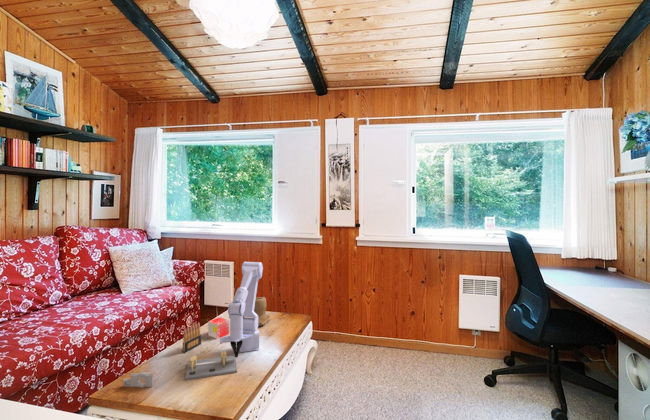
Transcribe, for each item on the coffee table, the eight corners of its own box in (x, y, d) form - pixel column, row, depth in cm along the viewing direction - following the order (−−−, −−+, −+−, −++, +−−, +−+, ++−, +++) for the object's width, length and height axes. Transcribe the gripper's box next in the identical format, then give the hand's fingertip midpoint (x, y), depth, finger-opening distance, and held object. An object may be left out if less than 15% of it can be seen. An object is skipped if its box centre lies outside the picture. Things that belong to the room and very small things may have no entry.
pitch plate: (235, 357, 154) (235, 347, 154) (236, 372, 141) (237, 362, 141) (188, 363, 148) (188, 353, 148) (185, 380, 134) (185, 369, 134)
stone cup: (255, 316, 207) (255, 294, 207) (272, 318, 205) (272, 295, 204) (244, 325, 192) (244, 301, 192) (263, 327, 190) (263, 303, 189)
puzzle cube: (208, 335, 178) (208, 321, 178) (219, 330, 185) (219, 317, 185) (217, 339, 174) (217, 324, 174) (229, 334, 181) (229, 320, 180)
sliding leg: (226, 358, 150) (226, 351, 150) (226, 367, 142) (226, 359, 142) (220, 359, 149) (220, 352, 149) (221, 368, 142) (221, 360, 141)
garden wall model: (122, 387, 129) (122, 373, 129) (125, 384, 131) (125, 370, 130) (152, 387, 129) (152, 373, 129) (155, 384, 131) (155, 370, 131)
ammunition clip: (185, 353, 158) (185, 329, 157) (182, 352, 158) (182, 328, 158) (201, 344, 168) (201, 321, 167) (198, 343, 168) (198, 321, 168)
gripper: (220, 332, 143) (220, 362, 144) (253, 329, 148) (252, 358, 148) (220, 326, 150) (219, 355, 150) (251, 323, 154) (251, 351, 155)
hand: (236, 356), depth 150 cm, fingers closed
